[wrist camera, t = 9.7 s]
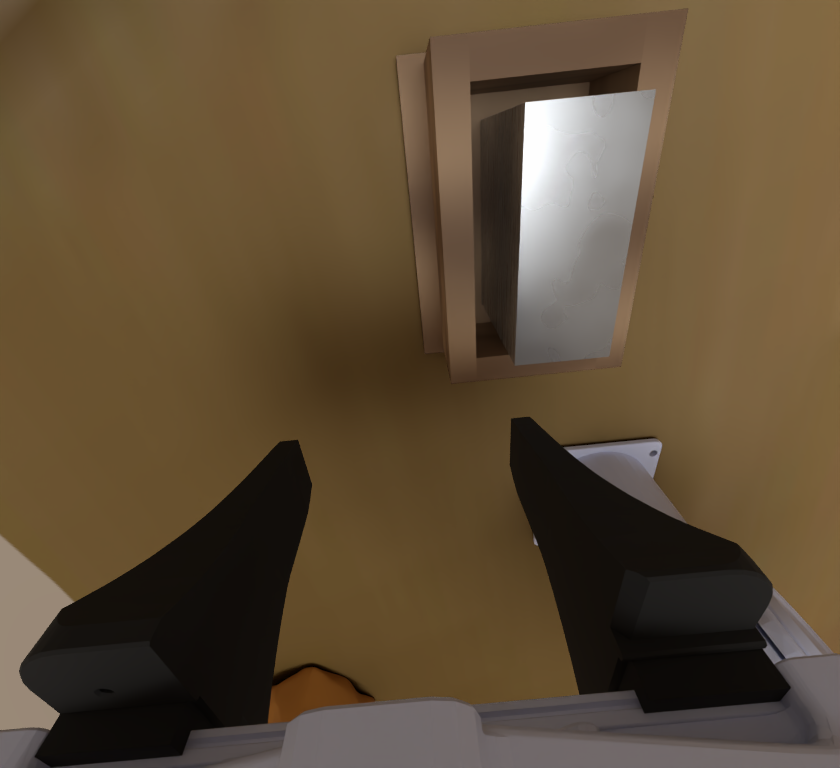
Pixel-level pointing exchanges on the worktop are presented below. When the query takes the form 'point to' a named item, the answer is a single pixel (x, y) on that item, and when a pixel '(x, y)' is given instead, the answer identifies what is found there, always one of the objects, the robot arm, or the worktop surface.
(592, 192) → the silver metal block
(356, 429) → the worktop surface
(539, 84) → the brown rectangular frame
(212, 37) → the worktop surface
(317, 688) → the coffee package
